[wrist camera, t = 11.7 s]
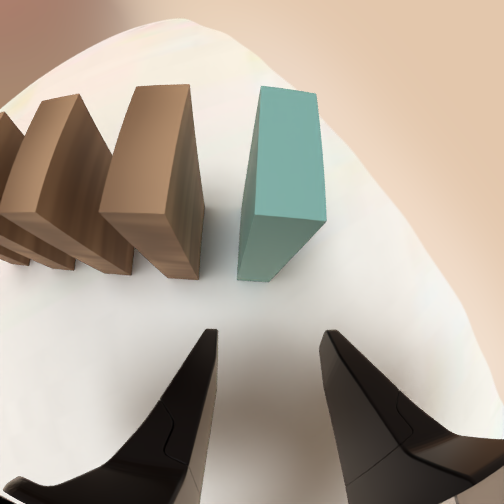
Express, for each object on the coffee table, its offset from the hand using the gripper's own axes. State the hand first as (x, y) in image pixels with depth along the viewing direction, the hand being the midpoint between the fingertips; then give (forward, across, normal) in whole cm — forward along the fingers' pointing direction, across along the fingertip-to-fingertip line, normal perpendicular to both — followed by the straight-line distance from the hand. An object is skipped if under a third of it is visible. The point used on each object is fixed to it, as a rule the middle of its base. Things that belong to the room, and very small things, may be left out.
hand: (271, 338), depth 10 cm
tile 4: (+10, +4, +2) cm, 11 cm away
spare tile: (+10, 0, +2) cm, 10 cm away
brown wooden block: (+10, +9, +2) cm, 13 cm away
